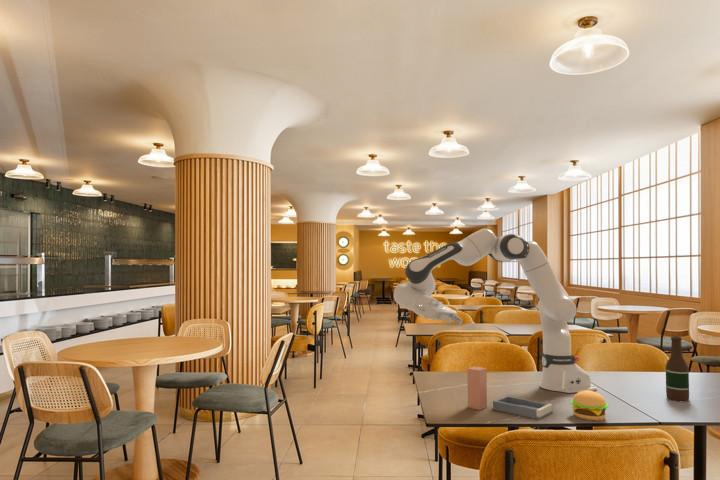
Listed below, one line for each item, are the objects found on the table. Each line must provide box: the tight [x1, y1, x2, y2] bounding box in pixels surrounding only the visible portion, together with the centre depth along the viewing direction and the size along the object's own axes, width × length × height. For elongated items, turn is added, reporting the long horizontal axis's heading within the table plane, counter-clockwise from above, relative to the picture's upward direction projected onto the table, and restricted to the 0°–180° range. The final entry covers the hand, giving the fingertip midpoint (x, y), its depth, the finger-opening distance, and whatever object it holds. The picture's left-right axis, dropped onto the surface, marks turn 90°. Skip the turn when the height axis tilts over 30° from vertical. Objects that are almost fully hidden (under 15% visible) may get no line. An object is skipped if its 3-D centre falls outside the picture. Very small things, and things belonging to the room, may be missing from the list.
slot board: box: [492, 395, 553, 420], centre depth 183 cm, size 17×10×3 cm, turn 47°
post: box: [467, 366, 488, 411], centre depth 188 cm, size 5×5×14 cm
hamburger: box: [570, 390, 610, 421], centre depth 177 cm, size 12×12×9 cm
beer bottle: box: [665, 335, 690, 402], centre depth 200 cm, size 8×8×24 cm
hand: (456, 321), depth 199 cm, fingers open, 8 cm apart
